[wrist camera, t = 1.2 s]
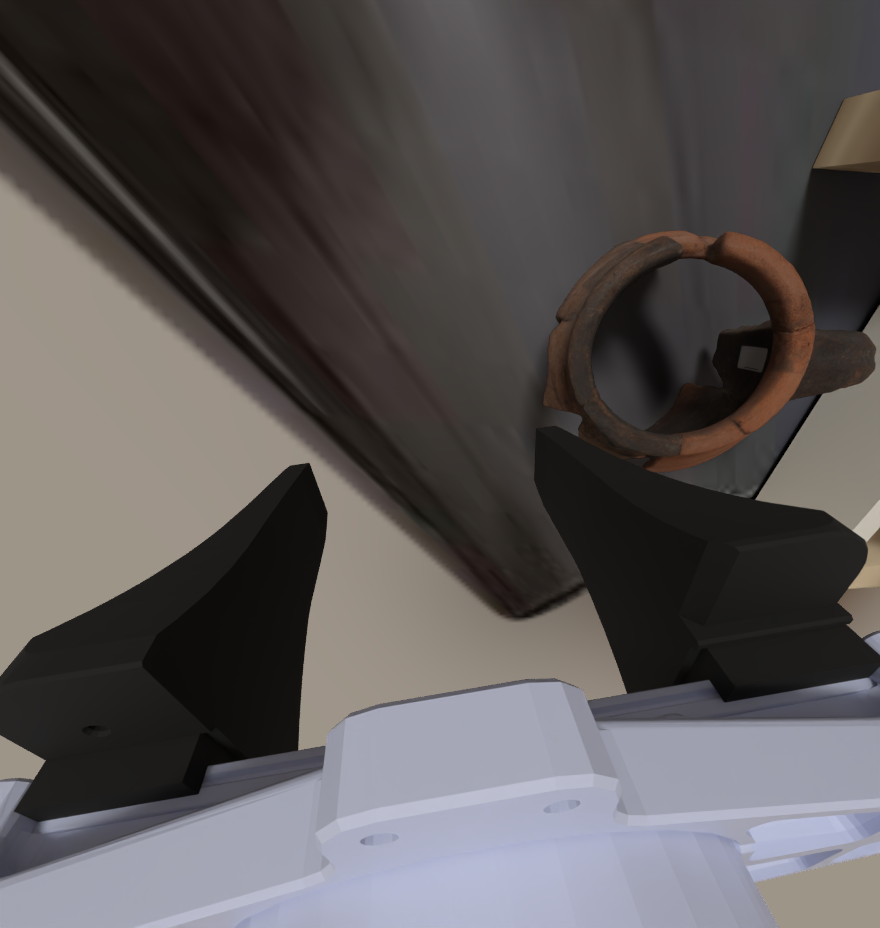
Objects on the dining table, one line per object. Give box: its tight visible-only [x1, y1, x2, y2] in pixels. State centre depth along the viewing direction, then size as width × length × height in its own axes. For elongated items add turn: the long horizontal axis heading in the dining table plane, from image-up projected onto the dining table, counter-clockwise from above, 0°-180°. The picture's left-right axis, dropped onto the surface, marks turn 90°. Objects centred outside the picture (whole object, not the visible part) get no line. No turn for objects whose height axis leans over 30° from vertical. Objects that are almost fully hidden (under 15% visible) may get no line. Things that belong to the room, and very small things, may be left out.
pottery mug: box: [543, 231, 876, 472], centre depth 16 cm, size 12×9×8 cm
